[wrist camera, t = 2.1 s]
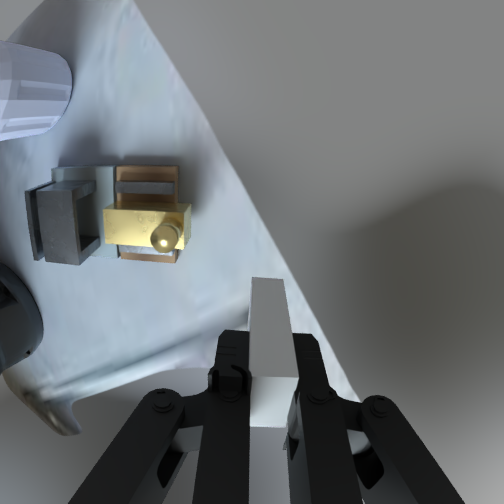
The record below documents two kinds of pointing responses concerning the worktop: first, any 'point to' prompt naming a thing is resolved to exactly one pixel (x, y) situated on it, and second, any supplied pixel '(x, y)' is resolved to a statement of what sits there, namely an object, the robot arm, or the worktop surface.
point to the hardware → (75, 218)
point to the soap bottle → (31, 90)
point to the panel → (106, 195)
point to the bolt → (148, 224)
